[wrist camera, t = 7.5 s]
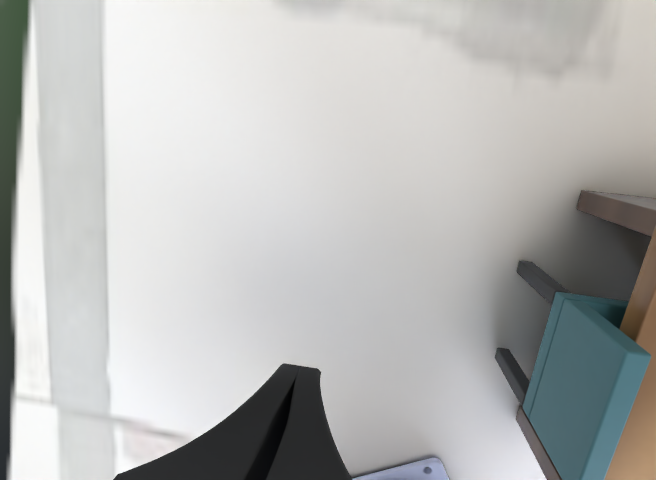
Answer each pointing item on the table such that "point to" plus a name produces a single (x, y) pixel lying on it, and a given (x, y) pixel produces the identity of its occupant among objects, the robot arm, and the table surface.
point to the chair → (578, 378)
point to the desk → (638, 324)
